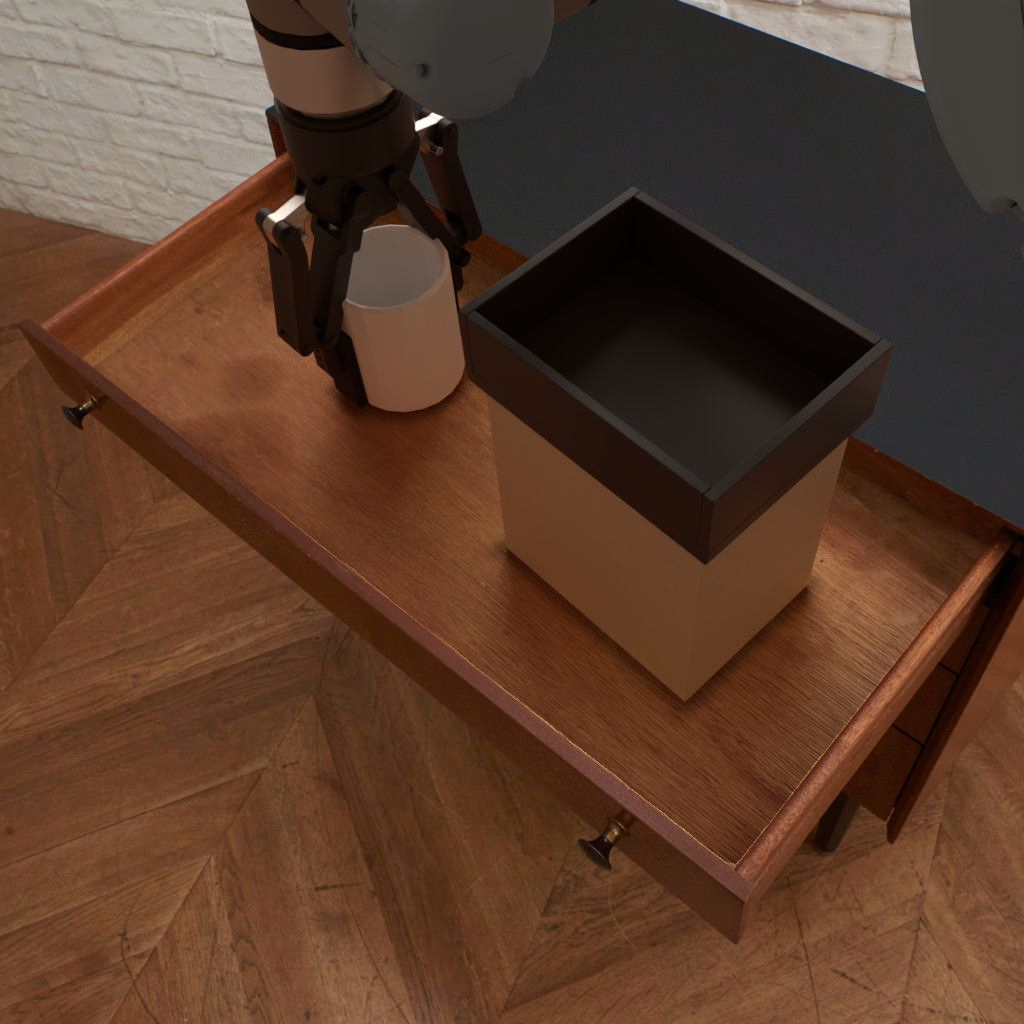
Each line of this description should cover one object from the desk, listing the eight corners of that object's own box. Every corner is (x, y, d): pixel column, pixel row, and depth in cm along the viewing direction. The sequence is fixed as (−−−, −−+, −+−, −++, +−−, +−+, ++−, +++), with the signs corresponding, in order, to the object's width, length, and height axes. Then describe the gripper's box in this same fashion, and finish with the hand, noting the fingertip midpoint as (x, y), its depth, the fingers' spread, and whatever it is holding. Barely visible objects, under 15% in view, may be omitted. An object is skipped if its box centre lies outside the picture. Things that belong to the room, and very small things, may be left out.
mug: (376, 286, 86) (352, 180, 78) (488, 365, 81) (475, 260, 73) (293, 345, 83) (260, 242, 75) (403, 432, 78) (380, 330, 70)
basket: (873, 415, 56) (894, 344, 52) (705, 566, 52) (714, 503, 48) (631, 258, 63) (633, 185, 59) (467, 379, 59) (456, 310, 55)
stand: (808, 584, 69) (855, 415, 56) (684, 702, 65) (704, 550, 52) (627, 448, 76) (631, 268, 63) (506, 547, 72) (483, 379, 59)
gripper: (438, -27, 68) (474, 260, 87) (141, 142, 61) (250, 415, 80) (524, 21, 65) (543, 309, 83) (221, 206, 57) (316, 476, 76)
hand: (400, 360), depth 81 cm, fingers closed on mug, 8 cm apart
